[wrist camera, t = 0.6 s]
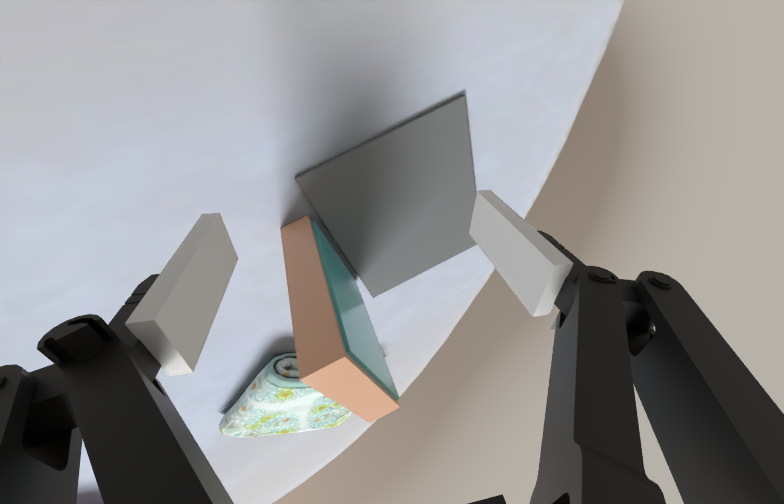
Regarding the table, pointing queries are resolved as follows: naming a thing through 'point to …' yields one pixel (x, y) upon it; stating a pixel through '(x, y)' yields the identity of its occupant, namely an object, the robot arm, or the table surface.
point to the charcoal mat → (400, 197)
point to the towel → (281, 404)
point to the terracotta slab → (333, 326)
